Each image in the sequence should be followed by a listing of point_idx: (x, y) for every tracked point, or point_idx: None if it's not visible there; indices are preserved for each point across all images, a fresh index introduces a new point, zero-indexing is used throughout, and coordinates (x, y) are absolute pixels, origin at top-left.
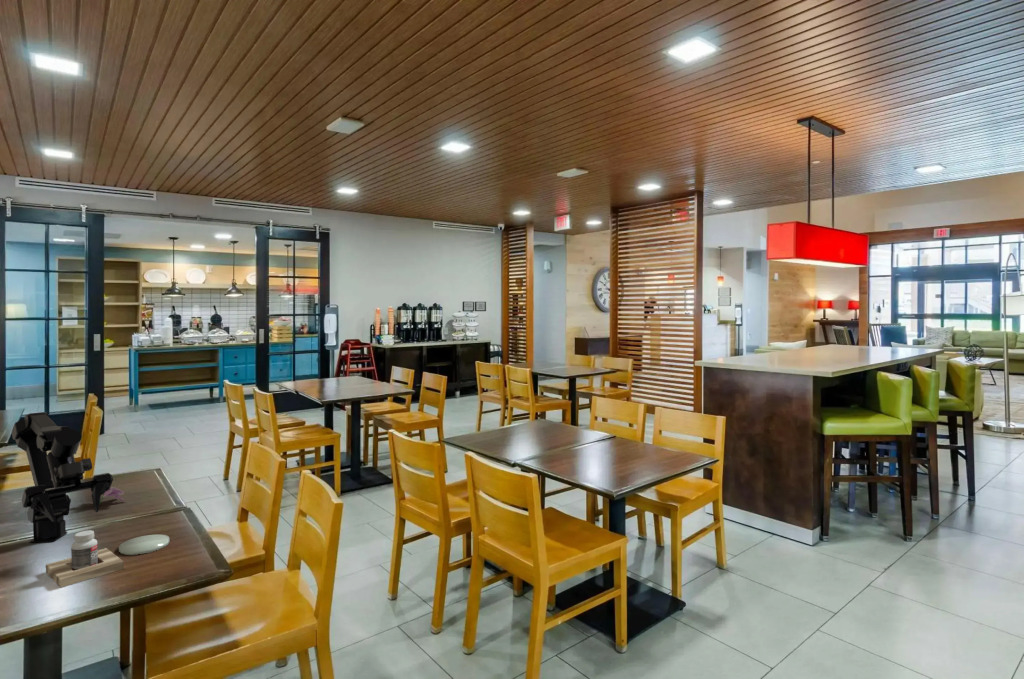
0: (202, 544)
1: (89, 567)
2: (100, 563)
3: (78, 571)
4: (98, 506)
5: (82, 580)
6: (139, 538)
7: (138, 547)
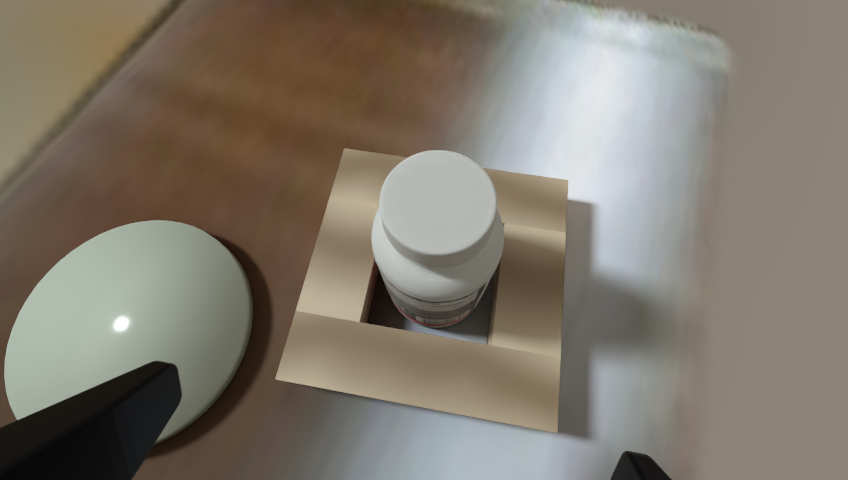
0: (65, 132)
1: None
2: None
3: None
4: (109, 381)
5: None
6: None
7: (187, 288)
